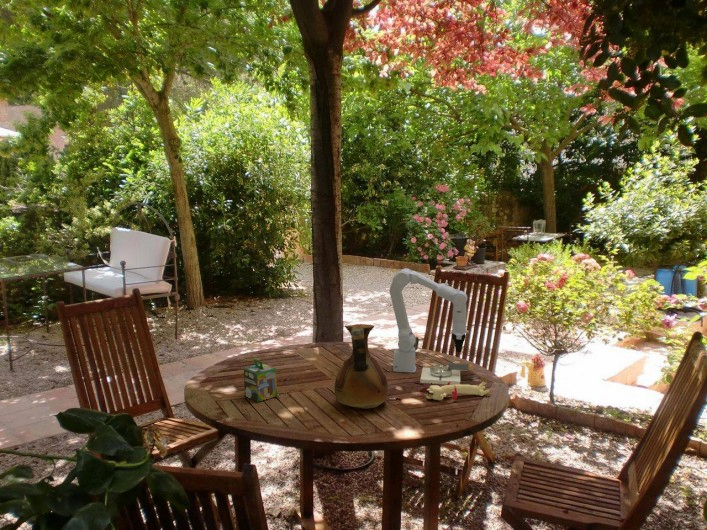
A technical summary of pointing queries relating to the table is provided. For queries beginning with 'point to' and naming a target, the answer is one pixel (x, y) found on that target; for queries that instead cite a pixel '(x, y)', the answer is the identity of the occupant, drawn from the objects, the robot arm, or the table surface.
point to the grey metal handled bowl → (449, 369)
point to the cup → (416, 343)
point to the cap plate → (429, 378)
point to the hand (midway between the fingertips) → (458, 351)
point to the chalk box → (260, 381)
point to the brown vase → (361, 373)
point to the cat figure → (456, 390)
